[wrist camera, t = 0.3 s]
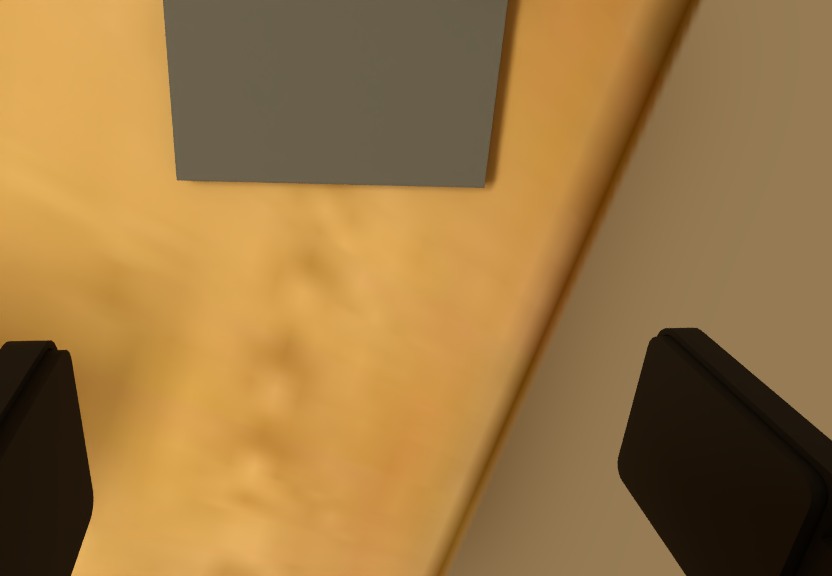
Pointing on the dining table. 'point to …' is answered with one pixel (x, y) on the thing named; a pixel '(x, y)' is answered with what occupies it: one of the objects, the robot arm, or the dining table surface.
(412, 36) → the mat
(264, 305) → the dining table surface
